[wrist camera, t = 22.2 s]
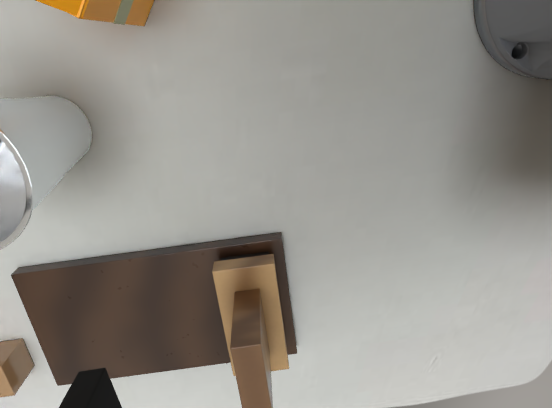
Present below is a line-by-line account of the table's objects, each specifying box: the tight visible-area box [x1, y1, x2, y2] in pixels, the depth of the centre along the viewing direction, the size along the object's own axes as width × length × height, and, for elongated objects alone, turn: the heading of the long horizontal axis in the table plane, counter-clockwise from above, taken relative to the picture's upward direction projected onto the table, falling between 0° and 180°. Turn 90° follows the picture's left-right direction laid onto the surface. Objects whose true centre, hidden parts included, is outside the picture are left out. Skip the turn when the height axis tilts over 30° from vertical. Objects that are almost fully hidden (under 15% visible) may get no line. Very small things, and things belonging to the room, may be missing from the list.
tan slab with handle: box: [212, 252, 289, 408], centre depth 40 cm, size 6×13×12 cm, turn 7°
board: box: [11, 232, 297, 386], centre depth 46 cm, size 28×15×2 cm, turn 97°
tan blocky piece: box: [0, 339, 34, 397], centre depth 46 cm, size 4×4×3 cm
